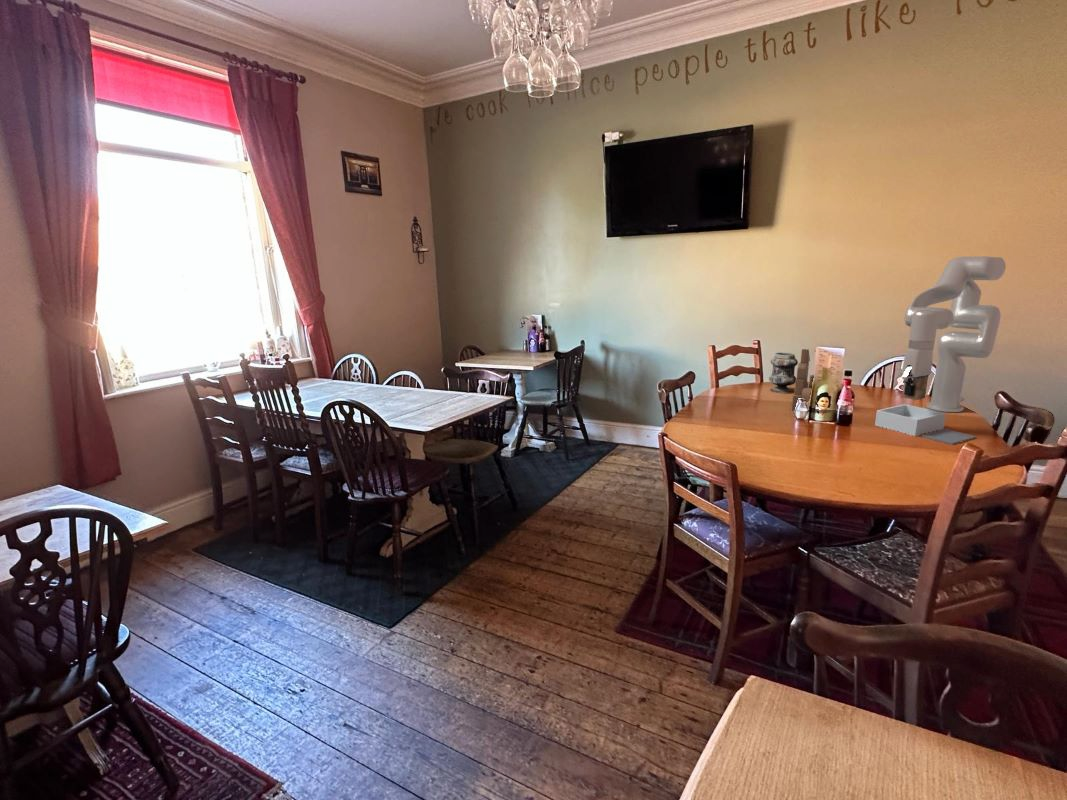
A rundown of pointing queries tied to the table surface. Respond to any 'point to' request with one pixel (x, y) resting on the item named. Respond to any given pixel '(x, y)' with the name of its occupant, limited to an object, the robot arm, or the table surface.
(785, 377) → the apothecary jar
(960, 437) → the slate mat
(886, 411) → the box
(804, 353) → the wooden toy
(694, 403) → the table surface
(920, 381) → the walnut block
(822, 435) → the table surface
